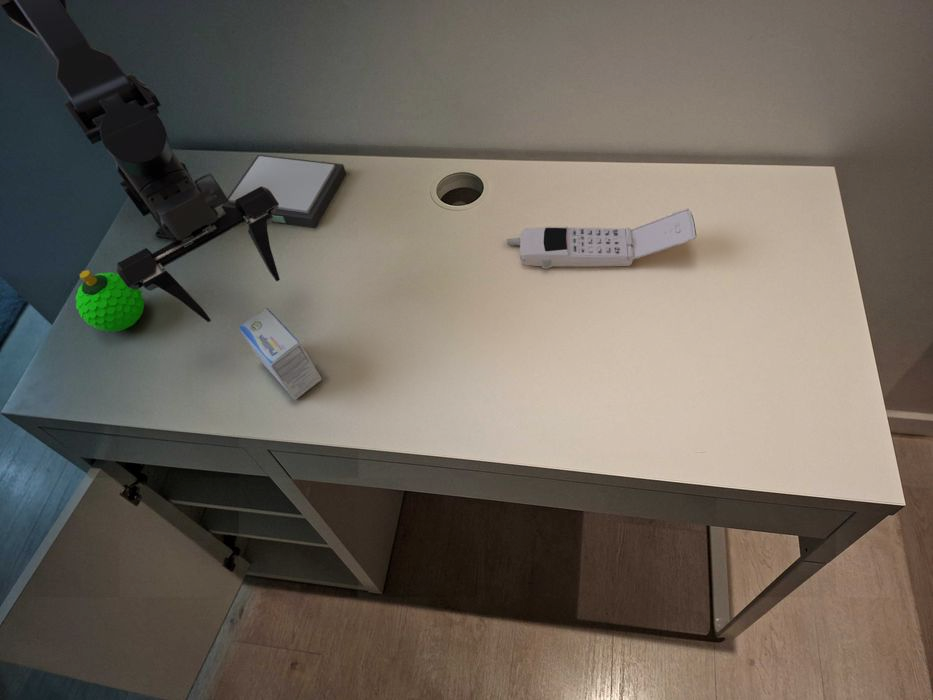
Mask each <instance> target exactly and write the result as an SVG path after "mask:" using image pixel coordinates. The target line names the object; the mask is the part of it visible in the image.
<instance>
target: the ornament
mask: <svg viewBox="0 0 933 700" xmlns="http://www.w3.org/2000/svg"><path fill="white" fill-rule="evenodd" d="M79 278H80V279H81V280H83V283H81V285H80V286H79V287H78V289H77V293H76V295H75V301H76V302H75V308H76V310H77V311H78V313H79V316H80V318H81V319H83V321H85V323H87V325H88V326H91V327H93V328H95V329H97V330H100V331H103V332H112V333H113V332H119V331H124V330H127V329H128V328H130V327H132V326H133V325H134V324H136V323H137V322H138V320H140V318H141V316H142V314H143V313H144V307H145V298H144V296H143V295H142V293H143V291H142V290H141V288H139V289H137V290H133V289H131V288H128V287H127V285H126V284H125V283H124V281H123V280H122V278H121V277H120V276H119V274H118V273H115V272H104V273H103V272H99V273H96V274H94V275H93V273H92V272H91V271H90V270H89V269H87V270H82V271H81V272H80V273H79Z"/></svg>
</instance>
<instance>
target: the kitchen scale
mask: <svg viewBox="0 0 933 700" xmlns="http://www.w3.org/2000/svg"><path fill="white" fill-rule="evenodd" d="M346 176H347V171H346V169H345V165H344V163H335V162H328V161H319V160H308V159H299V158H291V157H284V156H275V155H274V156H273V155H265V154H257V155H256V157H255V158H254V159H253V161H252V163H251V164H250V165H249V167H248V168H247V170H246V171H245V172H244V173H243V175H242V177H241V178H240V179H239V181H238V182H237V184H236V185H235V186H234V188H233V189H232V191H231V192H230V194H229V195H228V196H227V199H228V202H226V203H224V204H222V205H221V208H222V210H223V212H224V213H225V214H227V213H228V212H230V211H232V210H234V209H236V208H235V200H236V199H238V198H240V197H242V196H244V195H246V194H247V193H249V192H251V191H253V190H255V189H257V188H259V187H260V186H262V187H265V188H267V189H269V190H270V191H271V193H272V194H273V196H274V197H275V199H276V200H277V202H278V203H279V205H278V208H277V210H276V212H275V213H274V214H272V215H273V219H272V221H271V223H276V224H277V223H278V224H283V225H290V226H298V227H304V228H305V227H306V228H312V229H316V228H317V226H318V224H319V223H320V221H321V219H322V217H323V215H324V214H325V212H326V210H327V209H328V207H329V205H330V203H331V201H332V200H333V198H334V196H335V194H336V193H337V191H338V189H339V187H340V186H341V184H342V182H343V181H344V179H345V177H346Z"/></svg>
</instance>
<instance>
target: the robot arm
mask: <svg viewBox="0 0 933 700" xmlns="http://www.w3.org/2000/svg"><path fill="white" fill-rule="evenodd" d="M67 6H68V5H67V0H0V8H2V9H3V11H4V12H5V13H6V15H7V16H8V18H9V19H10V20H11V22H12V23H14V24H15V25H17V26H18V27H20V28H22V29H23V30H25V31H26V32H28V33H29V34H31V35H33V36H34V37H36V38H37V39H39V40H40V42H41V44H43V46H44V47H45V49H46V50H47V52H48V53H49V55H50V56H51V58H52V59H53V61H54V62H55V64H56V65H57V66H56V67H57V68H56V74H55V75H56V76H55V80H56V82H57V84H58V85H59V86H60V88H61V89H62V91H63V92H64V94H65V95H66V96H67V98H68V99H69V100H67V101H65V102H63V104H64V105H65V108H67V110H68V112H69V113H70V114H71V116H72V118H73V119H74V121H75V122H76V123H77V125H78V127H79V128H80V129H81V131H82V132H83V133H84V135H85V136H86V138H87V139H88V140H89V142H90V143H91V144H92V145H94V144H96V143H98V142H102V144H103V146H104V147H105V149H106V151H108V153H109V154H110V156H111V157H112V159H113V160H114V162H115V169H116V172H117V173H118V174H119V175H120V177H121V178H122V180H121V181H119V185H120V186H121V187H122V189H123V191H124V192H125V193H126V195H127V196H128V197H129V199H130V200H131V201H132V203H133V204H134V205H135V207H136V208H137V209H138V211H139V213H140V214H141V215H142V216H143V217H145V216H147V215H148V214H150V215H151V216H152V218H153V219H154V220H155V222H156V224H157V225H158V227H159V228H158V229H157V231H156V232H155V237H156V238H159V239H160V238H161V239H168V240H170V241H171V243H170V244H168V245H166V246H164V247H162V248H160V249H158V250H156V251H154V252H151V251H150V250H149V248H147V247H145V248H143V249H141V250H139V251H138V252H136V253H134V254H132V255H130V256H127V257H126V258H124V259H123V260H120V261H119V262H117V263H116V274H119V276H120V277H121V278H122V280H123V281H124V283H125V284H126V285H127V287H128V288H131V289H133V290H137V289H141V288H144V289H145V290H148V291H153V290H155V289H157V288H160V289H161V290H163V291H164V292H166V293H168V295H171V296H172V297H174V298H176V299H177V300H179V301H180V302H181V303H183V304H184V305H185V306H186V307H188V308H189V309H190V310H192V312H194V313H195V314H197V315H198V316H199V317H201V318H202V320H204V321H206V322H207V323H210V322H211V321H212V319H211V318H210V317H209V315H208V314H207V312H206V311H205V310H204V309H203V307H202V306H201V305H200V303H198V302H197V301H196V300H195V298H193V296H191V295H190V294H189V292H188V291H186V289H185V288H184V287H183V286H182V285H181V284H180V282H178V280H177V279H176V278H174V276H173V275H172V274H171V273H170V272H169V271H167V270H166V268H165V267H166V266H169V265H170V264H172V263H174V262H175V261H177V260H179V259H181V258H183V257H184V256H187V255H188V254H190V253H192V252H193V251H195V250H197V249H199V248H201V247H203V246H204V245H206V244H208V243H210V242H212V241H213V240H215V239H217V238H219V237H221V236H223V235H224V234H226V233H228V232H230V231H232V230H234V229H235V228H237V227H239V226H241V225H243V224H245V225H247V226H248V230H247V233H248V235H249V237H250V239H251V241H252V242H253V245H254V246H255V248H256V250H257V252H258V254H259V255H260V257H261V259H262V261H263V263H264V265H265V266H266V269H267V270H268V272H269V274H270V275H271V276H272V278H273V279H274V280H275V282H279V281H280V280H281V279H280V275H279V272H278V269H277V265H276V261H275V258H274V254H273V252H272V248H271V244H270V243H271V242H270V238H269V231H268V226H269V225H271V223H272V222H271V221H272V219H273V215H272V214H274V213H275V212H276V210H277V208H278V205H279V203H278V202H277V200H276V199H275V197H274V196H273V194H272V193H271V191H270V190H269V189H267V188H265V187H262V186H260V187H259V188H257V189H255V190H253V191H251V192H249V193H247V194H246V195H244V196H242V197H240V198H238V199H236V200H235V208H236V209H234V210H232V211H230V212H228V213H227V214H226V213H225V214H223V215H221V216H219V212H218V211H217V209H216V208H218V207H220V206H222V205H223V204H224V203H226V202H228V199H227V198H228V196H226V193H225V192H224V191H223V189H222V188H221V186H220V184H219V183H218V181H217V180H216V179H215V177H214V175H213V174H212V173H210V172H208V173H206V174H204V175H203V176H200V177H199V178H197V179H195V180H193V178H192V176H191V175H190V172H189V171H188V168H187V165H186V163H184V162H182V161H180V159H178V157H177V155H176V154H175V153H174V151H173V149H172V144H171V141H170V139H169V136H168V133H167V130H166V127H165V125H164V123H163V121H162V120H161V118H160V116H159V114H160V110H159V108H158V107H160V106H161V105H162V104H161V103H160V100H159V99H158V98H157V96H156V94H155V93H154V92H153V91H152V90H151V89H150V88H149V86H148V85H147V84H146V83H145V82H144V81H142V80H140V79H138V78H137V77H136V75H134V74H133V73H128V74H126V73H125V71H124V70H123V69H122V68H121V66H120V64H119V63H118V62H117V60H116V59H115V58H114V57H113V56H112V54H108V53H106V52H103V51H101V50H98V49H96V48H94V47H93V46H92V45H91V43H90V42H89V40H88V39H87V38H86V36H85V35H84V34H83V32H82V31H81V29H80V28H79V26H78V25H77V24H76V22H75V21H74V20H73V18H72V17H71V15H70V13H69V12H68V7H67ZM214 227H215V228H214ZM210 228H213V230H210V231H209V229H210Z"/></svg>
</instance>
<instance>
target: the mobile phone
mask: <svg viewBox="0 0 933 700" xmlns="http://www.w3.org/2000/svg"><path fill="white" fill-rule="evenodd" d="M695 239H697V229H696V224H695V220H694V216H693V214H692V211H691V210H690V209H689V208H686V209H685V208H684V209H681V210H677V211H675V212H672V213H671V214H669V215H665V216H664V217H661V218H658V219H656V220H653V221H650V222H648V223H645V224H642V225H640V226H638V227H637V226H636V228H632V229H631V228H630V227H626V228H622V227H621V228H618V227H617V228H615V227H570V226H541V227H528V228H523V229H522V230H521V231H520V236H519V237H513V238H512V237H511V238H506V245H512V246H513V245H514V246H519V260H520V262H521V264H523V265H527V266H536V267H541V268H542V269H551V267H576V268H577V267H578V268H579V267H584V268H585V267H587V268H588V267H629V266H631V265H632V264H633V261H634V260H637V259H640V258H643V257H646V256H649V255H652V254H655V253H658V252H661V251H664V250H668V249H671V248H674V247H677V246H679V245H683V244H685V243H687V242H690V241H692V240H695Z"/></svg>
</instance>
